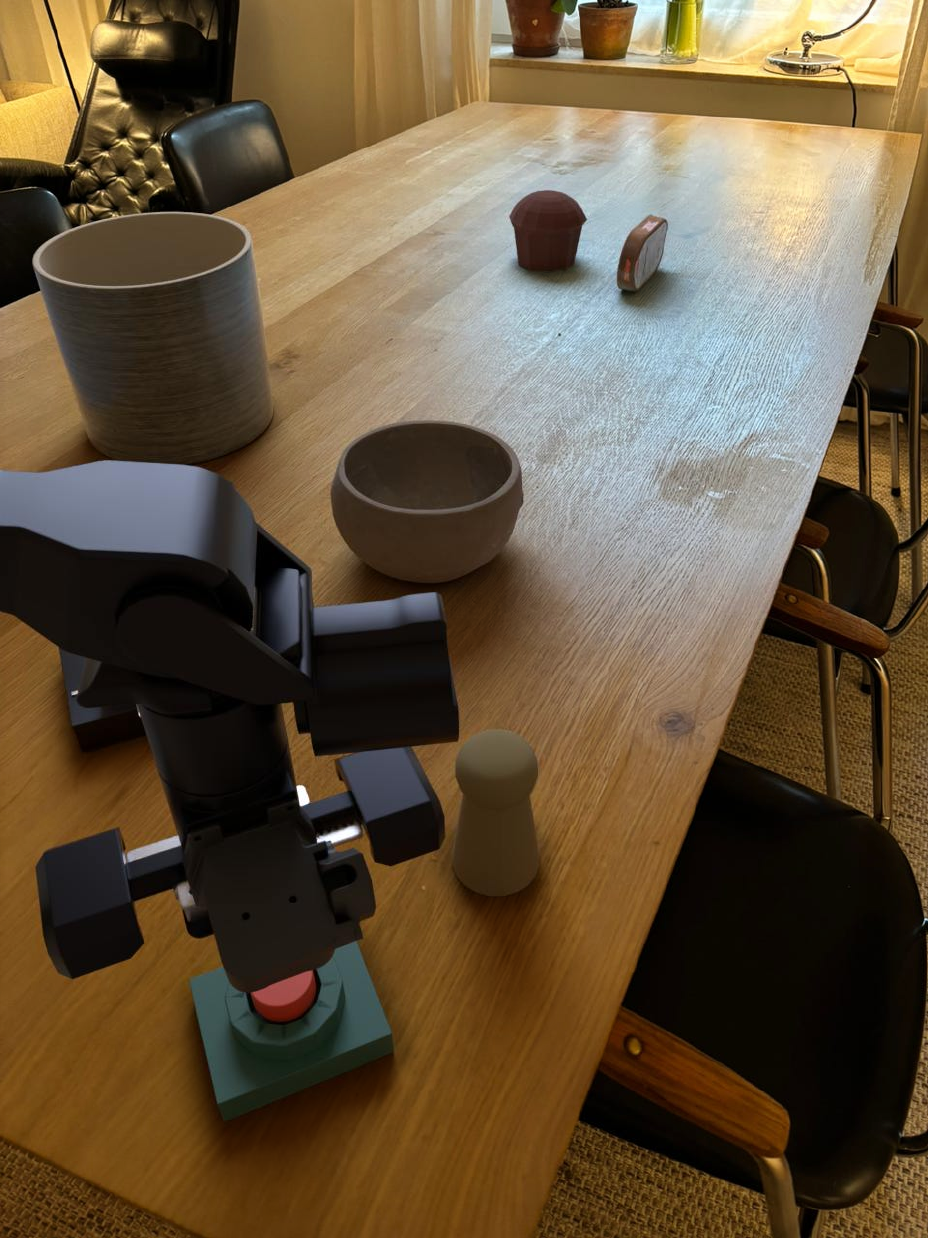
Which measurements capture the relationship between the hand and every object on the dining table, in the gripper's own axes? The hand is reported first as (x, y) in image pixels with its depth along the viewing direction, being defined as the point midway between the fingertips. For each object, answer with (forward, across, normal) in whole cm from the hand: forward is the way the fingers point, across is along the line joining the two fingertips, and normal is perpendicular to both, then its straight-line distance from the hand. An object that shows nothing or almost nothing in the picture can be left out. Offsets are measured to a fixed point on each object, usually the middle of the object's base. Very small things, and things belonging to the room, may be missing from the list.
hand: (270, 943), depth 53 cm
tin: (+9, +78, +91) cm, 120 cm away
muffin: (+9, +69, +104) cm, 125 cm away
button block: (+9, 0, 0) cm, 9 cm away
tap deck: (+9, -2, +33) cm, 34 cm away
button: (+5, 0, 0) cm, 5 cm away
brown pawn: (+9, +16, +6) cm, 19 cm away
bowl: (+9, +25, +41) cm, 49 cm away
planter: (+9, +8, +77) cm, 78 cm away
